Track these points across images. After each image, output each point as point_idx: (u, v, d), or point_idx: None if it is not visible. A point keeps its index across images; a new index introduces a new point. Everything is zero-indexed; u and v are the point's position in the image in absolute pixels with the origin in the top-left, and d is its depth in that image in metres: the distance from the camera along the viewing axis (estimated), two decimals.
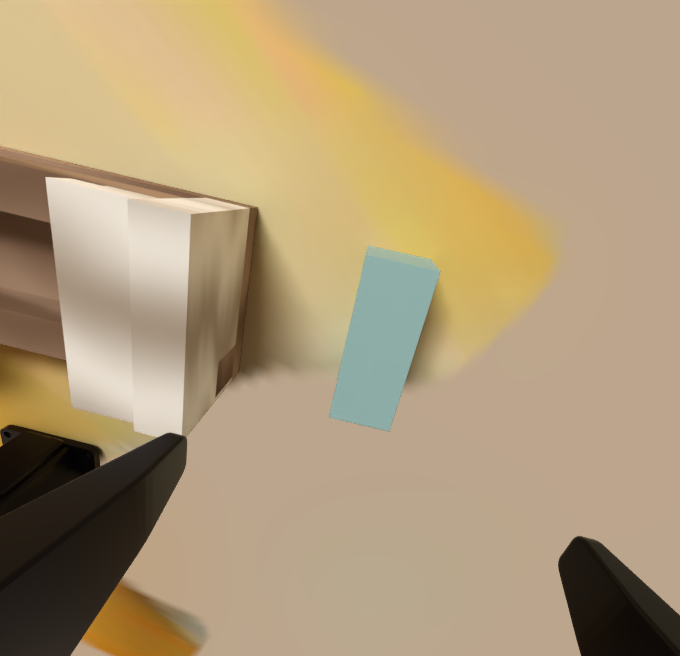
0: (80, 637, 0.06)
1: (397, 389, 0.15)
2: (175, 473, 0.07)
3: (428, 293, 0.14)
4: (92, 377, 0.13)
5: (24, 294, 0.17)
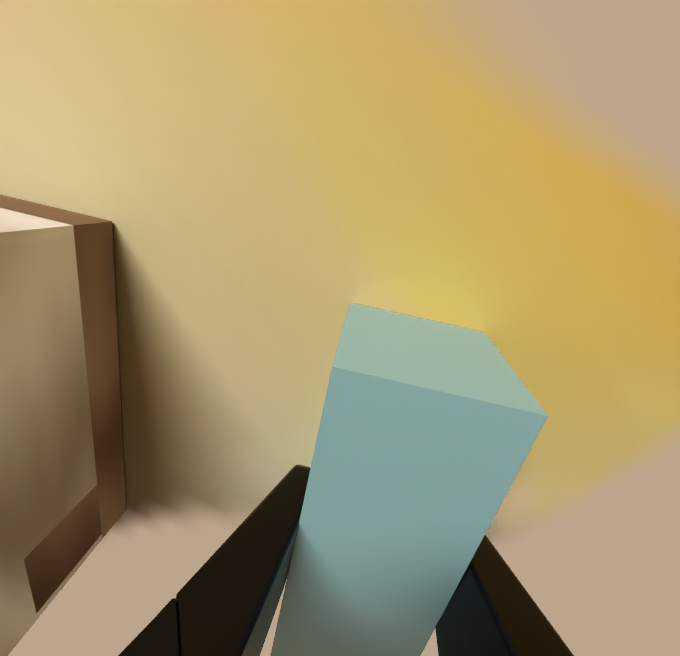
0: None
1: (415, 640, 0.07)
2: None
3: (506, 465, 0.05)
4: None
5: None
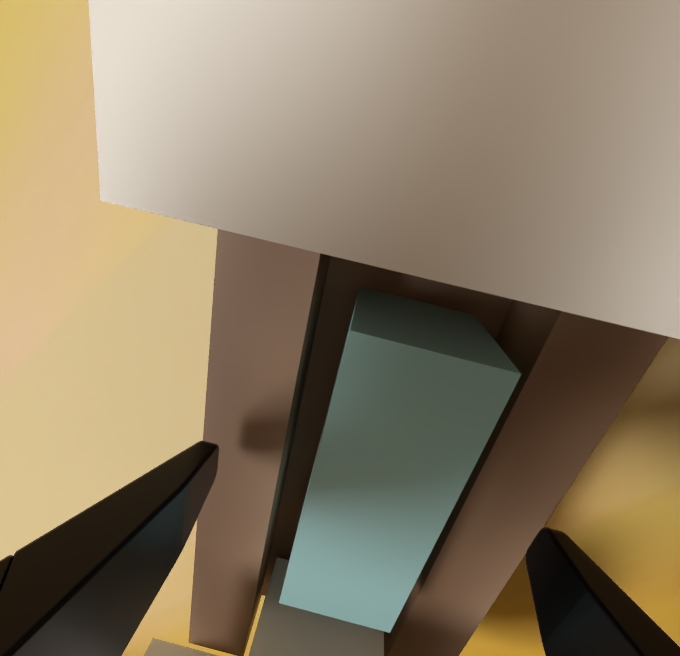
0: (123, 649, 0.06)
1: (408, 575, 0.08)
2: (208, 481, 0.07)
3: (488, 416, 0.06)
4: None
5: None
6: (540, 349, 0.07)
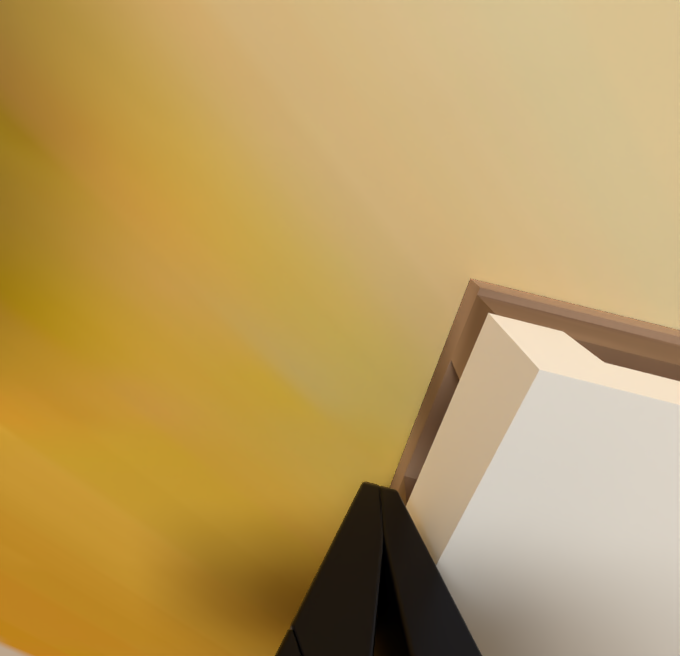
0: None
1: None
2: None
3: None
4: None
5: None
6: None
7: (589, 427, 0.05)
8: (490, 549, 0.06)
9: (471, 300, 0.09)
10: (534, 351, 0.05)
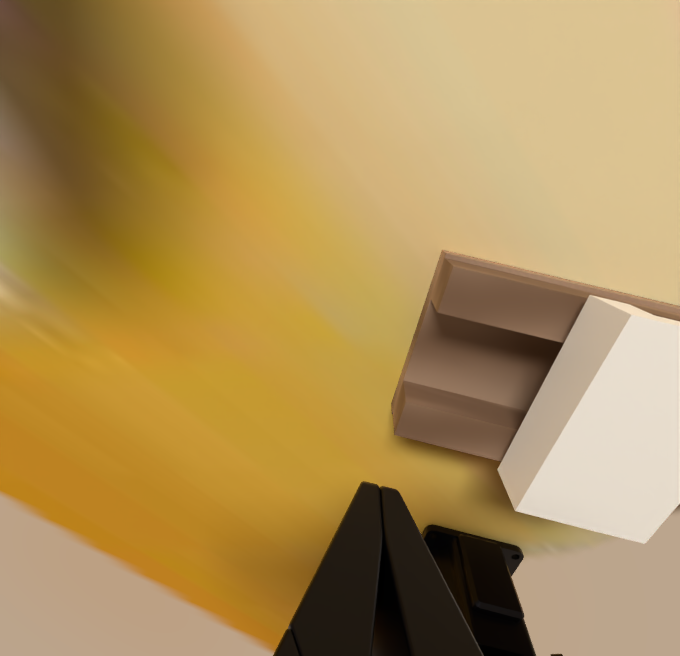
0: None
1: None
2: None
3: None
4: None
5: None
6: None
7: (651, 340, 0.11)
8: (598, 408, 0.12)
9: (441, 262, 0.15)
10: (623, 309, 0.11)
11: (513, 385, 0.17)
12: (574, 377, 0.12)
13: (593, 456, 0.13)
